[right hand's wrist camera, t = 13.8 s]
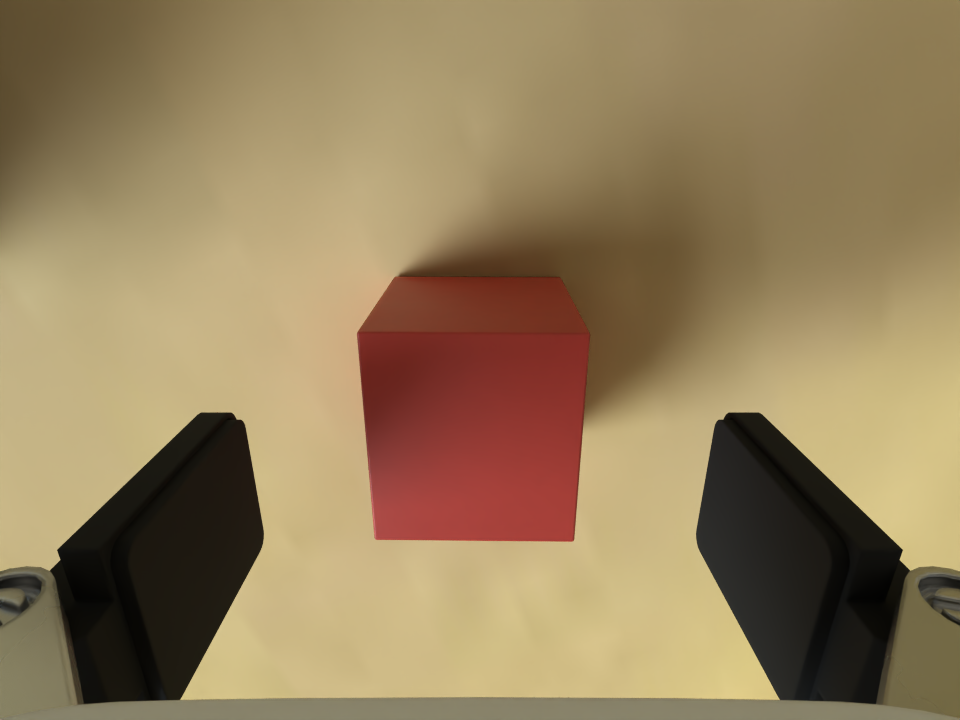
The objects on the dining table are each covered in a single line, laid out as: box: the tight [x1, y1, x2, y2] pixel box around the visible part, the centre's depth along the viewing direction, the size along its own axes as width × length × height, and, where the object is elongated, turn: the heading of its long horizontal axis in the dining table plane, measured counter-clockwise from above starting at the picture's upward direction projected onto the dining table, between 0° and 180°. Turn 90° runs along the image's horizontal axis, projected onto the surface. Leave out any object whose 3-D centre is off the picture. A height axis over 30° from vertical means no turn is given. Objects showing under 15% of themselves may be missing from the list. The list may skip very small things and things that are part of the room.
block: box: [357, 277, 590, 542], centre depth 14 cm, size 5×4×5 cm
